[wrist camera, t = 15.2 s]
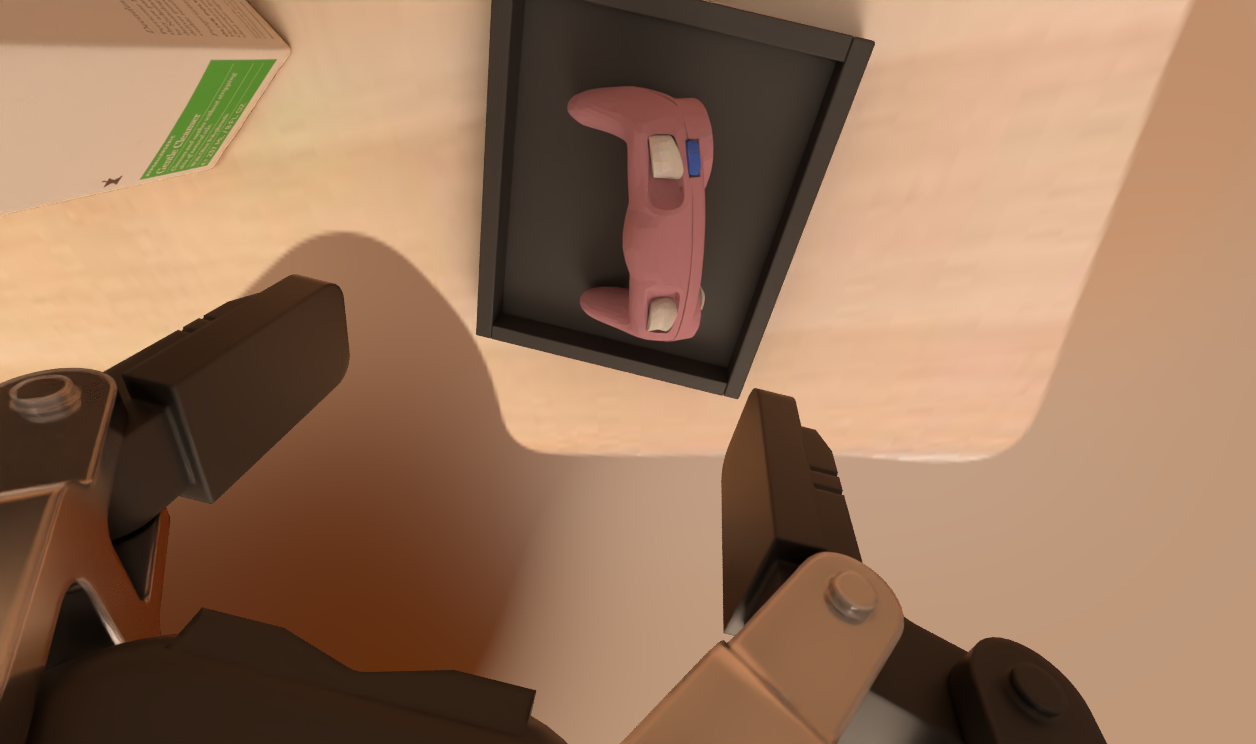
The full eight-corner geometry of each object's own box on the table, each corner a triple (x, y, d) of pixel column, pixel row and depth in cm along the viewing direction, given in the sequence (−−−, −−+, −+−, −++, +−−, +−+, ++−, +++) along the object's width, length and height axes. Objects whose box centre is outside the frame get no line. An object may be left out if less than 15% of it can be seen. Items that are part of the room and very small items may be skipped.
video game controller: (661, 296, 28) (724, 361, 22) (575, 309, 27) (618, 382, 21) (666, 79, 23) (750, 92, 17) (560, 82, 21) (611, 98, 16)
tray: (489, 317, 29) (475, 335, 27) (511, -42, 20) (493, -49, 19) (737, 378, 29) (738, 400, 27) (863, 40, 20) (876, 41, 19)
